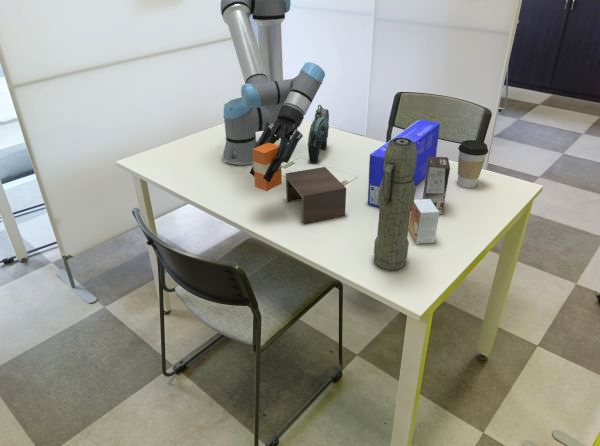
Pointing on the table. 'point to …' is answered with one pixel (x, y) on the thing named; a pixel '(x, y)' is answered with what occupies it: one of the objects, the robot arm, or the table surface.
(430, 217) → the small box
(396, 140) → the thermos
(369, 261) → the table surface
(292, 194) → the small wooden table
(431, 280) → the table surface
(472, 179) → the coffee cup
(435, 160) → the coffee box
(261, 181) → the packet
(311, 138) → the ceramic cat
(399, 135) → the blue cardboard box
